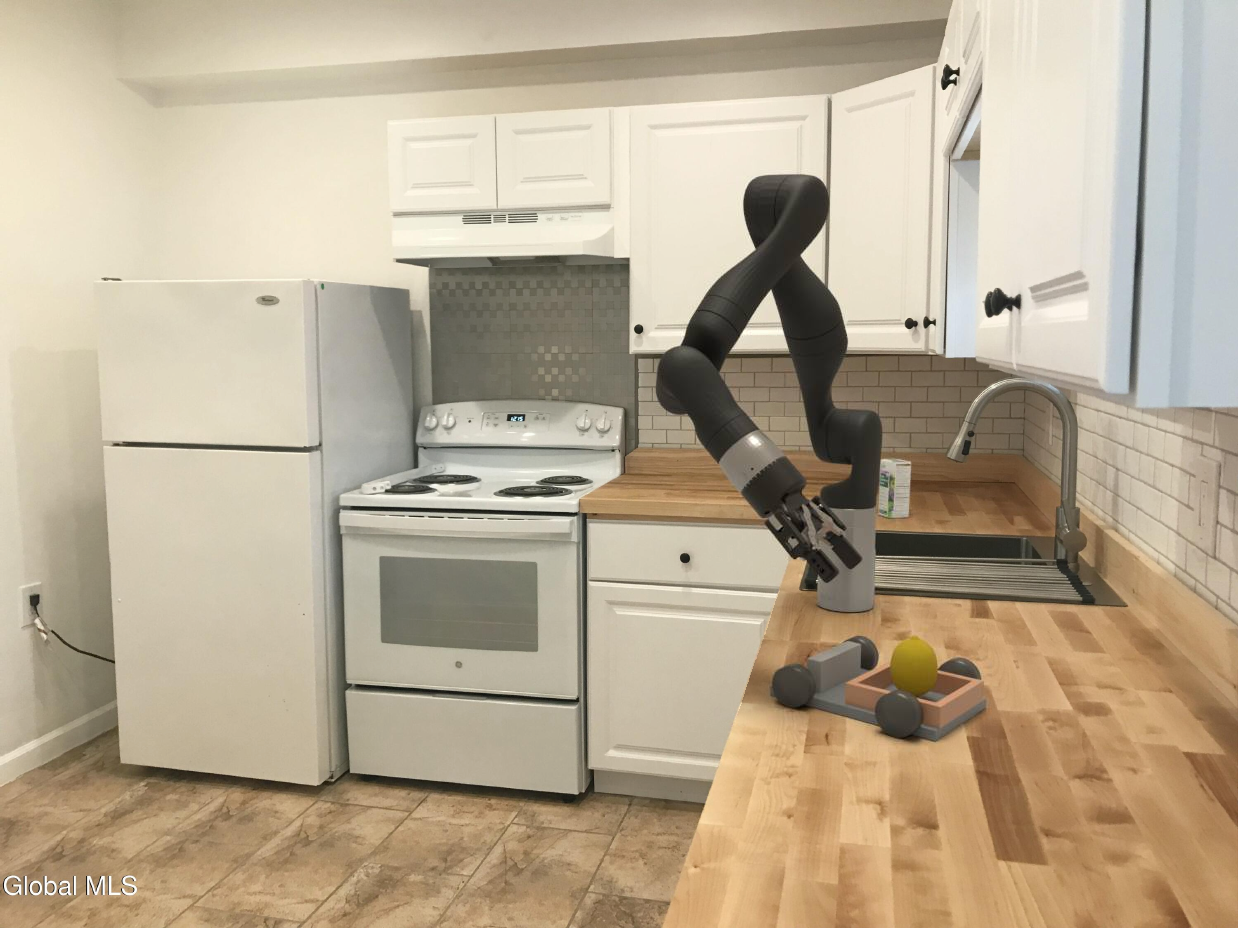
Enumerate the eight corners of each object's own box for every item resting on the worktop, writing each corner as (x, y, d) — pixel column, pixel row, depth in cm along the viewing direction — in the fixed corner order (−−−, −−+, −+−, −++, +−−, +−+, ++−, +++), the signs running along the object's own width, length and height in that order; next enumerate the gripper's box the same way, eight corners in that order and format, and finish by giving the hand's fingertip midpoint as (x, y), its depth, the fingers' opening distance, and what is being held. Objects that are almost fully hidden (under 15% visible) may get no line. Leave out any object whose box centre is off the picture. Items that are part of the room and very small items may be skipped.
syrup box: (877, 515, 260) (879, 458, 259) (897, 513, 262) (899, 458, 260) (889, 518, 255) (891, 461, 253) (910, 517, 257) (912, 460, 255)
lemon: (905, 709, 120) (908, 643, 119) (880, 695, 125) (882, 631, 125) (946, 705, 122) (948, 639, 121) (919, 691, 127) (921, 628, 126)
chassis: (835, 665, 140) (836, 628, 140) (992, 703, 126) (994, 662, 125) (761, 699, 127) (762, 659, 127) (927, 746, 113) (929, 701, 112)
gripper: (758, 460, 123) (847, 564, 118) (802, 448, 135) (885, 542, 130) (718, 499, 126) (803, 602, 122) (764, 485, 138) (844, 578, 134)
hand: (845, 571), depth 126 cm, fingers open, 8 cm apart
